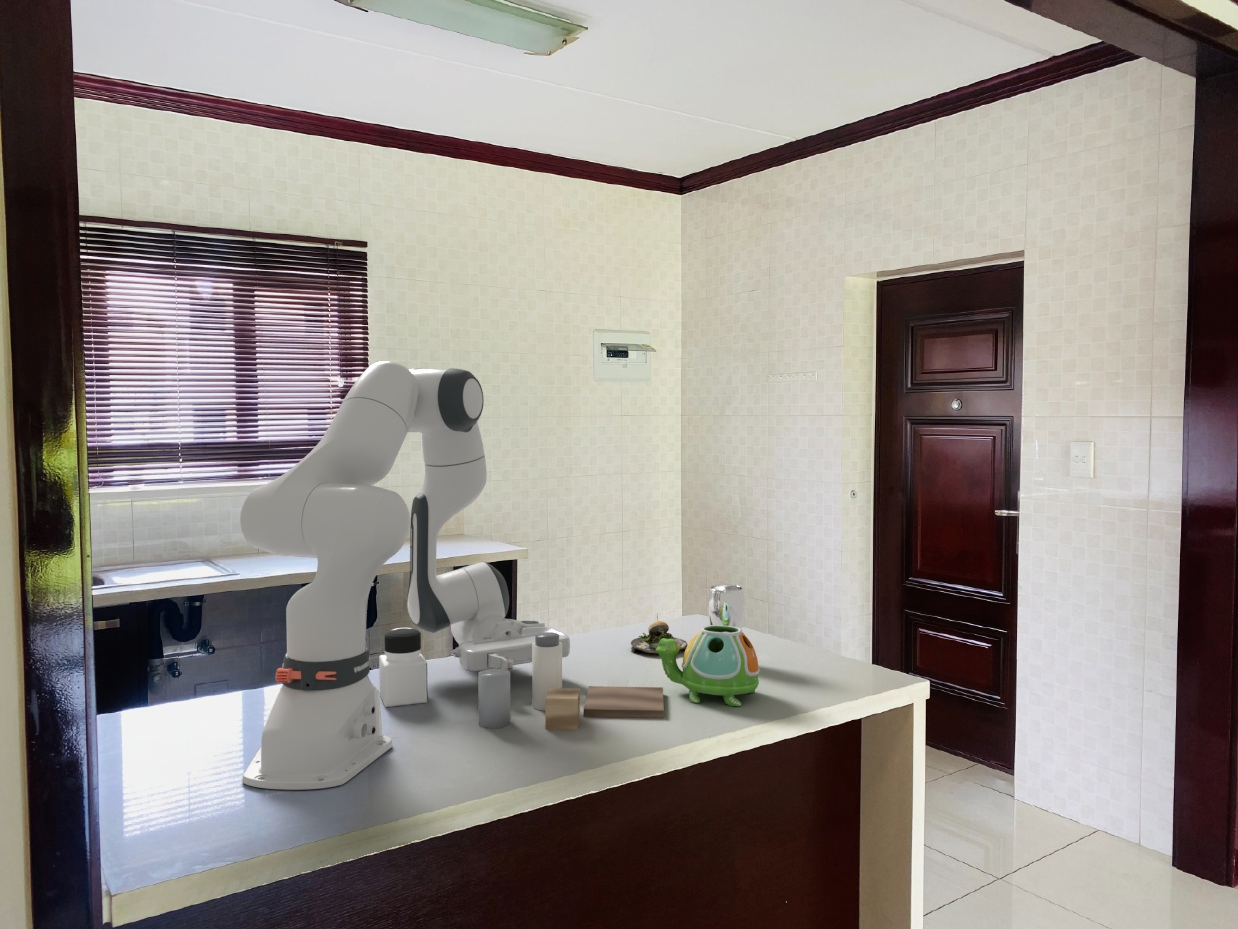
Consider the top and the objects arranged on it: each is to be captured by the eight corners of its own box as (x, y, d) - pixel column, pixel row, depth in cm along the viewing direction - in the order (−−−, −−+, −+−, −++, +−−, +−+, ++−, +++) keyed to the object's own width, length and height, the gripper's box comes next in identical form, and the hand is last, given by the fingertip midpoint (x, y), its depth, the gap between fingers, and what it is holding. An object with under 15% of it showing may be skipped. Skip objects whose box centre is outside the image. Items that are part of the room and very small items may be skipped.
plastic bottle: (560, 710, 150) (560, 639, 149) (530, 710, 150) (530, 638, 149) (563, 701, 155) (563, 631, 154) (534, 700, 155) (534, 631, 154)
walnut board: (663, 717, 147) (663, 710, 147) (583, 716, 147) (583, 709, 147) (662, 694, 159) (662, 687, 159) (588, 693, 159) (588, 686, 159)
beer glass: (704, 666, 176) (705, 589, 175) (711, 656, 182) (712, 583, 181) (740, 669, 174) (741, 592, 173) (746, 659, 180) (747, 585, 179)
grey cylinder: (507, 728, 142) (507, 678, 141) (475, 728, 142) (475, 677, 141) (512, 717, 147) (512, 669, 146) (481, 717, 147) (481, 668, 146)
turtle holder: (666, 679, 167) (666, 615, 167) (764, 689, 162) (765, 623, 161) (647, 700, 156) (648, 631, 155) (752, 711, 150) (753, 640, 149)
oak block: (577, 730, 141) (577, 698, 141) (545, 729, 141) (545, 698, 141) (579, 719, 146) (579, 688, 146) (549, 718, 146) (548, 688, 146)
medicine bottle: (427, 703, 153) (427, 633, 153) (384, 708, 151) (383, 637, 150) (420, 690, 160) (420, 623, 159) (379, 695, 157) (378, 627, 157)
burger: (624, 656, 183) (624, 620, 183) (636, 642, 195) (636, 607, 194) (683, 660, 181) (683, 623, 180) (691, 645, 192) (692, 610, 192)
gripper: (447, 633, 162) (477, 651, 150) (548, 619, 173) (584, 635, 161) (447, 668, 162) (477, 688, 151) (548, 652, 173) (584, 670, 161)
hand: (534, 661), depth 156 cm, fingers open, 8 cm apart
